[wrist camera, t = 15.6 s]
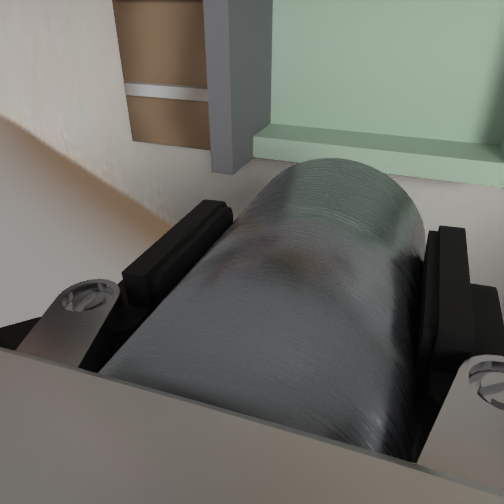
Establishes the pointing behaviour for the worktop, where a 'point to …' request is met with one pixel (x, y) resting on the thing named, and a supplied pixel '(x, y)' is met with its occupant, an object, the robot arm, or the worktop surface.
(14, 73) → the worktop surface
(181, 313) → the metal cylinder
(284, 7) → the toy truck
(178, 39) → the track
